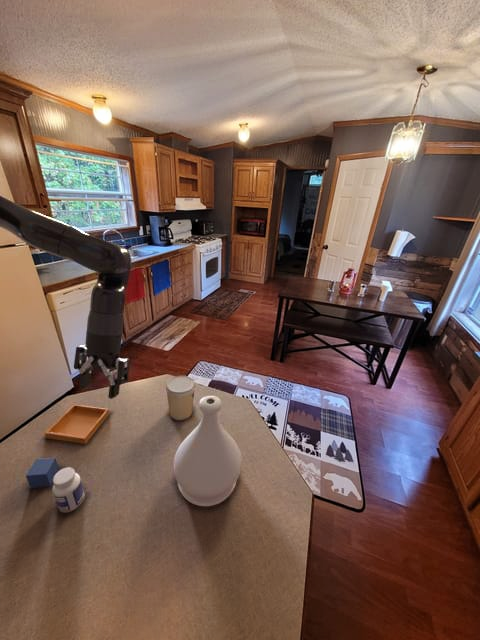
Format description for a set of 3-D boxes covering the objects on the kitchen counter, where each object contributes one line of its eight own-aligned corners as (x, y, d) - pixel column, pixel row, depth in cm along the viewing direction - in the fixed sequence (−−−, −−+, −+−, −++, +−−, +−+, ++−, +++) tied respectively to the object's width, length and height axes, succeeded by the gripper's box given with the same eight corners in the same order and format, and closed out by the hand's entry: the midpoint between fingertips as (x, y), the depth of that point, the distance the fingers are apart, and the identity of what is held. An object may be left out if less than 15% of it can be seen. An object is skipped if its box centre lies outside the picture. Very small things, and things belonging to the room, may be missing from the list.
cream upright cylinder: (199, 415, 87) (199, 387, 82) (173, 426, 82) (171, 396, 77) (188, 399, 94) (188, 372, 89) (163, 408, 88) (161, 380, 84)
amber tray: (46, 438, 74) (44, 433, 73) (75, 408, 85) (74, 404, 84) (85, 443, 73) (84, 438, 72) (109, 413, 84) (109, 408, 84)
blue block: (30, 488, 61) (25, 475, 59) (40, 471, 65) (36, 459, 63) (50, 486, 62) (46, 473, 60) (59, 469, 66) (55, 457, 64)
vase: (205, 437, 78) (207, 370, 69) (252, 470, 70) (262, 398, 60) (159, 480, 65) (154, 404, 55) (210, 527, 56) (214, 447, 46)
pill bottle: (81, 485, 63) (74, 460, 59) (87, 501, 59) (81, 476, 56) (55, 500, 59) (46, 474, 56) (61, 518, 56) (52, 492, 52)
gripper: (67, 324, 58) (62, 389, 61) (118, 340, 54) (110, 408, 57) (94, 320, 65) (88, 378, 68) (141, 334, 61) (133, 394, 64)
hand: (98, 391), depth 63 cm, fingers open, 8 cm apart
